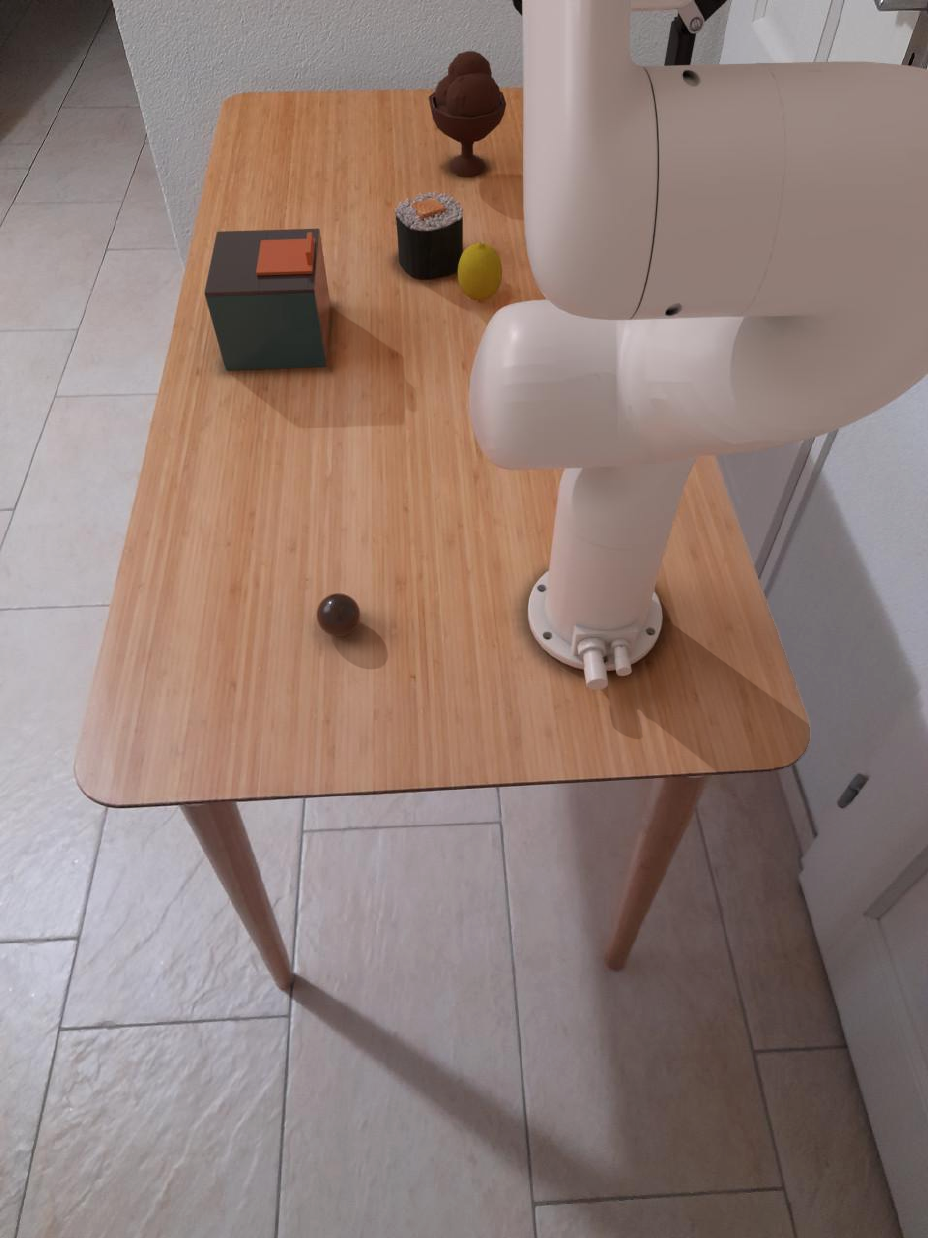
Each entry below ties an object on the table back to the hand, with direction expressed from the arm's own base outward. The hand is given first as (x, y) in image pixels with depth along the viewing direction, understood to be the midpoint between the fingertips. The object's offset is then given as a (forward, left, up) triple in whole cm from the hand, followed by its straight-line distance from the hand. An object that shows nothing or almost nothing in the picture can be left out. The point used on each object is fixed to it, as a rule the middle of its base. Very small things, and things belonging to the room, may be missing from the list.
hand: (608, 85), depth 68 cm
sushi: (+35, +14, -37) cm, 53 cm away
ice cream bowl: (+59, +8, -37) cm, 70 cm away
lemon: (+26, +8, -37) cm, 46 cm away
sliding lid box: (+20, +33, -37) cm, 53 cm away
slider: (+20, +30, -26) cm, 45 cm away
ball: (-24, +24, -35) cm, 49 cm away
